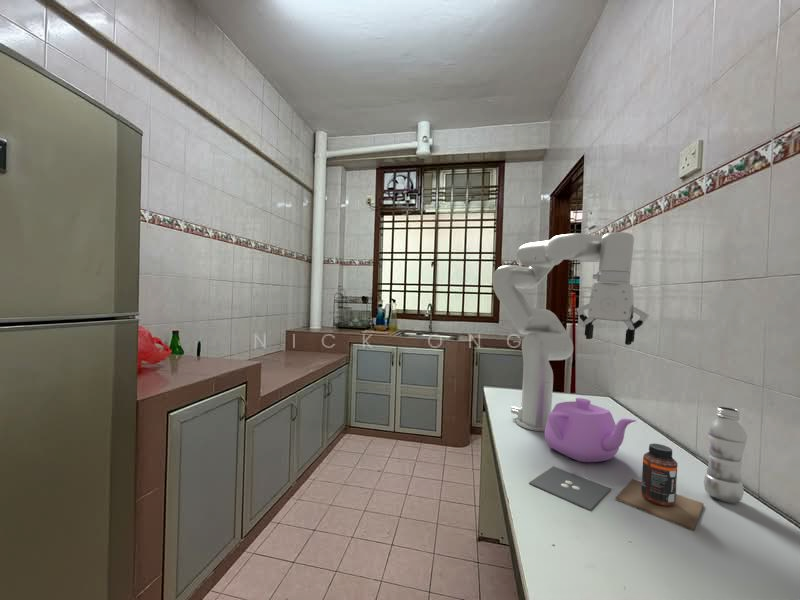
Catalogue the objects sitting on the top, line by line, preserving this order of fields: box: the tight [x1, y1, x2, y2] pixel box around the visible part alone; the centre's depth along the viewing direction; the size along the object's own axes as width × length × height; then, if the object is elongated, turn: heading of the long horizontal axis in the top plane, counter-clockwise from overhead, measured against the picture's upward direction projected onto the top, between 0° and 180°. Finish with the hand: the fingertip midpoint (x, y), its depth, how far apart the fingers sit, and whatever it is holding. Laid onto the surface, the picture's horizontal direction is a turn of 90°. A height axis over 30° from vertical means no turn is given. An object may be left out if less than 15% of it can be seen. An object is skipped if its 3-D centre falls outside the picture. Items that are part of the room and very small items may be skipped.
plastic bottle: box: [703, 406, 748, 504], centre depth 79 cm, size 6×7×20 cm
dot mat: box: [528, 465, 612, 511], centre depth 80 cm, size 13×13×1 cm
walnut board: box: [615, 478, 704, 531], centre depth 76 cm, size 13×13×1 cm
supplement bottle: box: [641, 443, 678, 506], centre depth 76 cm, size 6×6×11 cm
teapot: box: [544, 397, 637, 463], centre depth 96 cm, size 23×21×15 cm
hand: (607, 341), depth 97 cm, fingers open, 9 cm apart
